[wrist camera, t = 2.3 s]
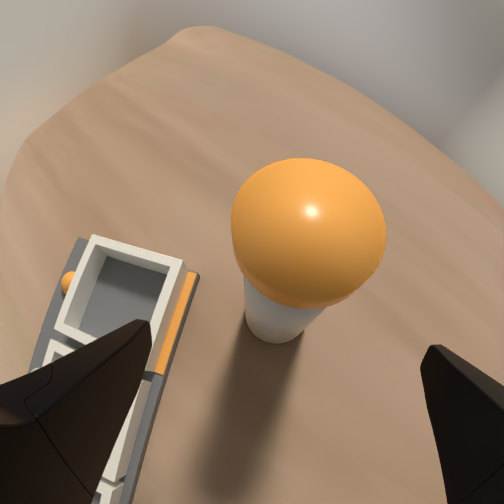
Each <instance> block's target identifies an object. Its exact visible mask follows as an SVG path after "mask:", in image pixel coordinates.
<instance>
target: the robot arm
mask: <svg viewBox="0 0 504 504" xmlns="http://www.w3.org/2000/svg"><path fill="white" fill-rule="evenodd" d="M151 349H152V335H151V326H150V323H149V321H147V320H142V319H135V320H133V321H131V322H129V323H127V324H125V325H123V326H121V327H119V328H118V329H116V330H114V331H112V332H110V333H108V334H106V335H104V336H102V337H100V338H98V339H96V340H94V341H92V342H90V343H88V344H86V345H84V346H82V347H80V348H79V349H77V350H75V351H73V352H71V353H69V354H67V355H65V356H63V357H61V358H59V359H57V360H55V361H53V363H49V364H47V365H45V366H43V367H41V368H39V369H37V370H35V371H33V372H31V373H28V374H26V375H24V376H21V377H19V378H16V379H14V380H11V381H9V382H6V383H4V384H1V385H0V504H91V503H92V501H93V498H92V497H94V495H95V493H96V490H97V487H98V485H99V482H100V480H101V477H102V475H103V472H104V470H105V467H106V465H107V462H108V460H109V458H110V455H111V453H112V450H113V448H114V446H115V443H116V441H117V438H118V436H119V434H120V431H121V429H122V427H123V424H124V422H125V420H126V417H127V415H128V413H129V410H130V408H131V406H132V404H133V401H134V399H135V397H136V395H137V392H138V390H139V387H140V384H141V381H142V378H143V375H144V371H145V368H146V365H147V362H148V358H149V355H150V352H151ZM420 372H421V377H422V382H423V387H424V393H425V399H426V405H427V409H428V413H429V417H430V421H431V425H432V429H433V433H434V437H435V441H436V446H437V450H438V455H439V459H440V464H441V469H442V474H443V480H444V485H445V491H446V497H447V504H504V386H503V385H501V384H500V383H498V382H497V381H495V380H494V379H492V378H491V377H489V376H488V375H487V374H485V373H484V372H482V371H481V370H479V369H478V368H476V367H475V366H473V365H472V364H470V363H469V362H467V361H465V360H464V359H462V358H461V357H459V356H458V355H456V354H455V353H453V352H452V351H450V350H449V349H447V348H446V347H444V346H443V345H430V346H429V348H428V350H427V352H426V354H425V356H424V358H423V360H422V363H421V366H420Z"/></svg>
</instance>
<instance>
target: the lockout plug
mask: <svg viewBox="0 0 504 504" xmlns="http://www.w3.org/2000/svg"><path fill="white" fill-rule="evenodd" d="M231 232H232V242H233V249H234V255H235V258H236V261H237V264H238V266H239V268H240V270H241V272H242V273H243V275H244V296H245V317H246V322H247V325H248V327H249V329H250V330H251V332H252V333H253V334H254V335H255V336H256V337H257V338H259V339H261V340H263V341H265V342H268V343H272V344H281V343H286V342H288V341H291V340H293V339H294V338H295V337H297V336H298V335H299V334H300V333H301V332H302V331H303V330H304V329H305V328H306V327H307V326H308V325H309V324H310V323H311V322H312V321H313V320H314V319H315V318H316V317H317V316H318V315H319V314H320V313H321V312H322V311H323V310H324V309H325V308H326V307H328V306H331V305H334V304H336V303H339V302H340V301H342V300H344V299H346V298H347V297H348V296H350V295H351V294H352V293H354V292H355V291H356V290H357V289H358V288H359V287H360V286H361V285H362V284H363V283H364V282H365V281H366V280H367V279H368V278H369V277H370V276H371V275H372V274H373V273H374V271H375V270H376V268H377V267H378V265H379V263H380V261H381V259H382V257H383V253H384V250H385V245H386V226H385V220H384V217H383V213H382V211H381V209H380V206H379V204H378V202H377V201H376V199H375V197H374V196H373V194H372V193H371V192H370V190H369V189H368V188H367V187H366V186H365V185H364V184H363V183H362V182H361V181H360V180H359V179H358V178H356V177H355V176H354V175H352V174H351V173H349V172H348V171H346V170H344V169H342V168H340V167H338V166H336V165H334V164H331V163H328V162H325V161H320V160H316V159H307V158H295V159H286V160H282V161H278V162H275V163H272V164H270V165H267V166H265V167H263V168H262V169H260V170H259V171H257V172H256V173H254V174H253V175H252V176H251V177H250V178H249V179H248V180H247V181H246V182H245V183H244V184H243V185H242V187H241V189H240V190H239V192H238V193H237V196H236V198H235V200H234V203H233V207H232V212H231Z"/></svg>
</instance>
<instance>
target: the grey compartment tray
mask: <svg viewBox="0 0 504 504" xmlns="http://www.w3.org/2000/svg"><path fill="white" fill-rule="evenodd" d="M199 278H200V276H199V274H198V273H197V272H193V271H190V270H188V269H187V267H186V265H185V263H184V261H183V260H181V259H177V258H174V257H170V256H167V255H163V254H159V253H156V252H152V251H149V250H145V249H142V248H138V247H135V246H132V245H128V244H125V243H121V242H118V241H114V240H111V239H108V238H104V237H101V236H97V235H94V234H92V236H91V238H90V240H86V239H83V238H79V237H78V239H77V241H76V243H75V245H74V248H73V250H72V252H71V254H70V256H69V259H68V261H67V263H66V266H65V268H64V270H63V273H62V275H61V277H60V280H59V282H58V285H57V287H56V290H55V292H54V295H53V298H52V300H51V303H50V306H49V308H48V311H47V314H46V317H45V319H44V322H43V325H42V328H41V331H40V334H39V337H38V341H37V344H36V347H35V350H34V354H33V357H32V361H31V364H30V368H29V372H28V373H31V372H33V371H35V370H37V369H39V368H41V367H43V366H45V365H47V364H49V363H53V361H55V360H57V359H59V358H61V357H63V356H65V355H67V354H69V353H71V352H73V351H75V350H77V349H79V348H80V347H82V346H84V345H86V344H88V343H90V342H92V341H94V340H96V339H98V338H100V337H102V336H104V335H106V334H108V333H110V332H112V331H114V330H116V329H118V328H119V327H121V326H123V325H125V324H127V323H129V322H131V321H133V320H135V319H142V320H147V321H149V323H150V326H151V335H152V349H151V352H150V355H149V358H148V362H147V365H146V368H145V371H144V375H143V378H142V381H141V384H140V387H139V390H138V392H137V395H136V397H135V399H134V401H133V404H132V406H131V408H130V410H129V413H128V415H127V417H126V420H125V422H124V424H123V427H122V429H121V431H120V434H119V436H118V438H117V441H116V443H115V446H114V448H113V450H112V453H111V455H110V458H109V460H108V462H107V465H106V467H105V470H104V472H103V475H102V477H101V480H100V482H99V485H98V487H97V490H96V493H95V495H94V497H92V498H93V501H92V503H91V504H132V500H133V496H134V492H135V488H136V484H137V480H138V477H139V473H140V469H141V465H142V462H143V458H144V454H145V451H146V447H147V443H148V440H149V436H150V433H151V429H152V426H153V422H154V419H155V416H156V412H157V409H158V405H159V402H160V399H161V395H162V392H163V389H164V385H165V382H166V379H167V376H168V372H169V369H170V366H171V363H172V360H173V356H174V353H175V350H176V347H177V344H178V341H179V338H180V335H181V332H182V328H183V325H184V322H185V319H186V316H187V313H188V310H189V307H190V304H191V301H192V298H193V296H194V293H195V290H196V287H197V284H198V281H199Z"/></svg>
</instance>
